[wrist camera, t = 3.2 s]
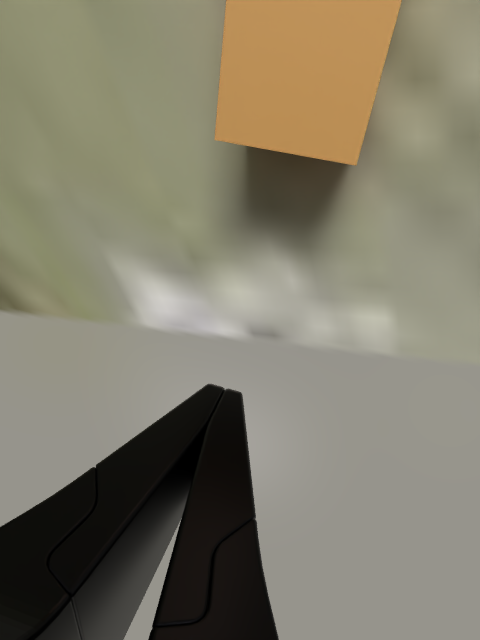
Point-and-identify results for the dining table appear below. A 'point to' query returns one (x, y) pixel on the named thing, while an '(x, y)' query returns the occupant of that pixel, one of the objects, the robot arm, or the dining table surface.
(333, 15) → the plug
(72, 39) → the dining table surface
